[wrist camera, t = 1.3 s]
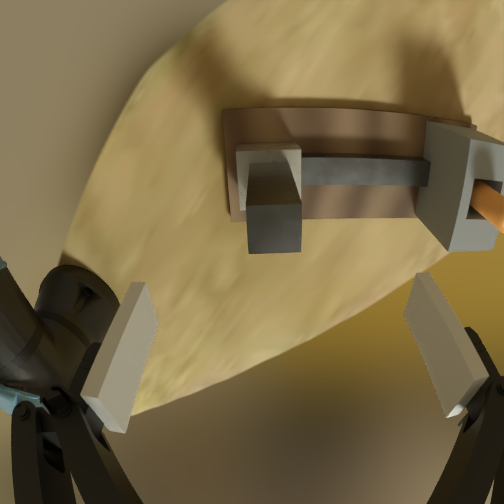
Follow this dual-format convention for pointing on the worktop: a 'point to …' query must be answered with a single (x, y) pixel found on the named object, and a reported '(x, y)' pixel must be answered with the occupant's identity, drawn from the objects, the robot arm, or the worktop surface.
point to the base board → (333, 141)
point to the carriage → (271, 195)
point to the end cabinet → (459, 185)
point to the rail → (363, 169)
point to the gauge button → (488, 203)
